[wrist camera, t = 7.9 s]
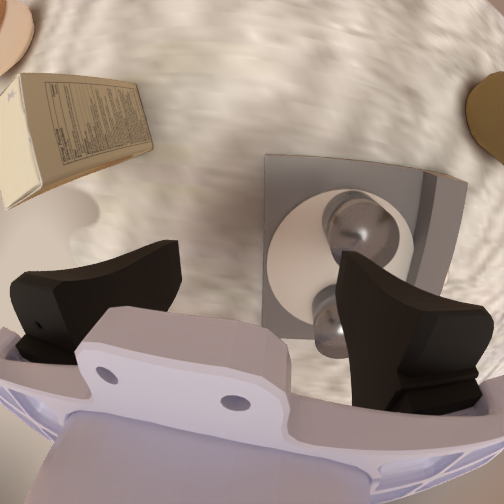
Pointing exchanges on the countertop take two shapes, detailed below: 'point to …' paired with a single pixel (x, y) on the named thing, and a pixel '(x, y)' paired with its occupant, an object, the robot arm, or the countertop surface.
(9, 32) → the lidded jar
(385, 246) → the cylinder
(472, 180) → the countertop surface
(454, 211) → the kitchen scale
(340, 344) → the block
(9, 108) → the skincare box
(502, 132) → the squeeze bottle
